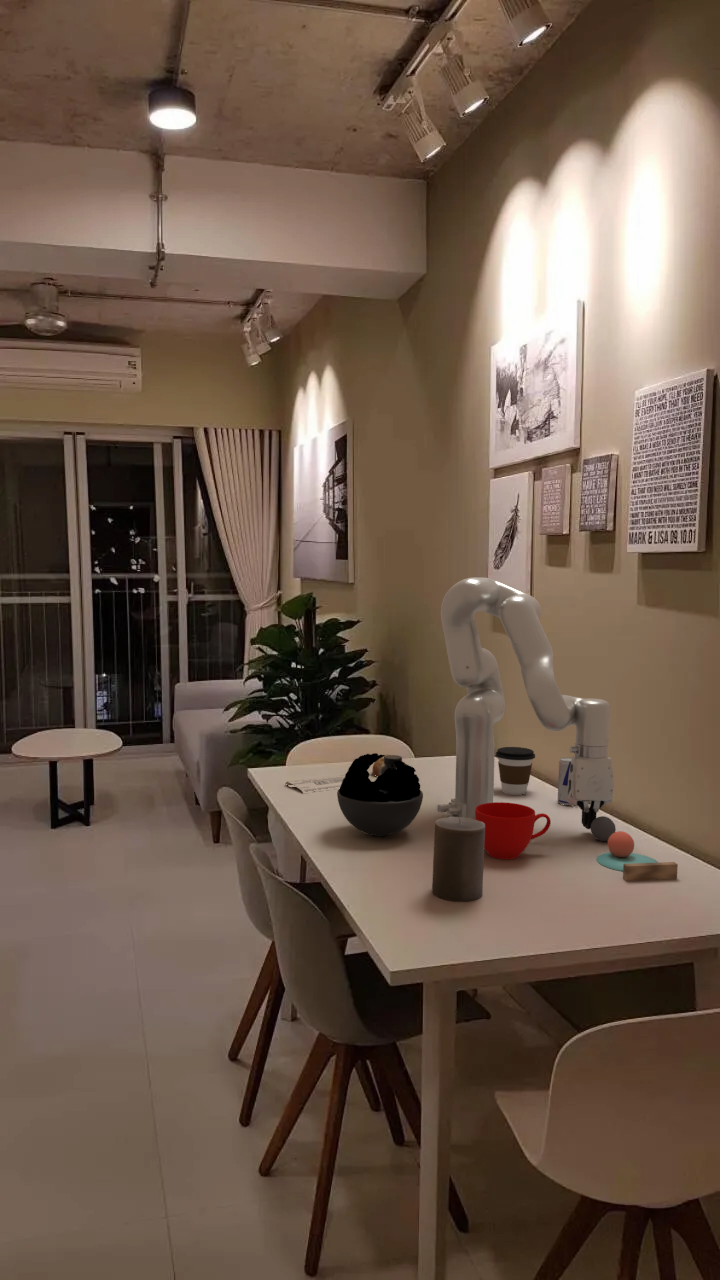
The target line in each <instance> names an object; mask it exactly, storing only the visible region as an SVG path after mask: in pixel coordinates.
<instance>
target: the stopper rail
mask: <svg viewBox="0 0 720 1280" xmlns="http://www.w3.org/2000/svg"><path fill="white" fill-rule="evenodd" d="M678 866H679V865H678V863H676V862H675V861H668V862H665V861H663V862H659V863H633V864H623V871H622V879H623V880H624V881H627V882H628V881H629V882H631V881H630V880H633V881H651V880H652V879H658V880H677V879H678ZM676 878H677V879H676Z"/></svg>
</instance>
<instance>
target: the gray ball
mask: <svg viewBox="0 0 720 1280" xmlns="http://www.w3.org/2000/svg"><path fill="white" fill-rule="evenodd" d="M590 832H591V835H592V837H594V839H596V840H598V841H601V842H606V841H607V842H608V839H609V837H610V836H611V835H612V834H613V833H615V832H617V831H616V824H615V823H614V821H613V820H612V819H611V818H610V817H608V816H604V815H603V816H598V817H597V816H596V819H594V820H593V822H592V824H591V829H590Z"/></svg>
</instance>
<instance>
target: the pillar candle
mask: <svg viewBox="0 0 720 1280" xmlns="http://www.w3.org/2000/svg"><path fill="white" fill-rule="evenodd" d="M434 822H435V823H434V835H433V836H434V838H433V859H432V884H431V885H432V886H431V889H432V890H431V891H432V893H433V894H434V895H435V896H436V897H437V898H440V899H444V900H447V901H451V902H454V903H455V902H457V903H458V902H471V901H476V900H478V899H480V898H482V897H483V891H484V890H483V888H484V884H483V883H484V882H483V881H484V861H485V860H484V858H485V849H484V842H485V824H484V823H483V822H481V821H477V820H474V819H469V818H462V817H449V816H448V817H441V818H438V819H436V820H435V821H434Z"/></svg>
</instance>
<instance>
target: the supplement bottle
mask: <svg viewBox="0 0 720 1280" xmlns="http://www.w3.org/2000/svg"><path fill="white" fill-rule="evenodd" d="M395 761H401V762H402V761H403V757H402V756H401V755H397V754H388V755H387V756H385V757H384V764H385V765H384V766H382V767H381V769H380V775H381V774H384V772H385V770H387V769H388V768H390V769H391V770H392V769H397V767H396V766H395V764H394V762H395Z"/></svg>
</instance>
